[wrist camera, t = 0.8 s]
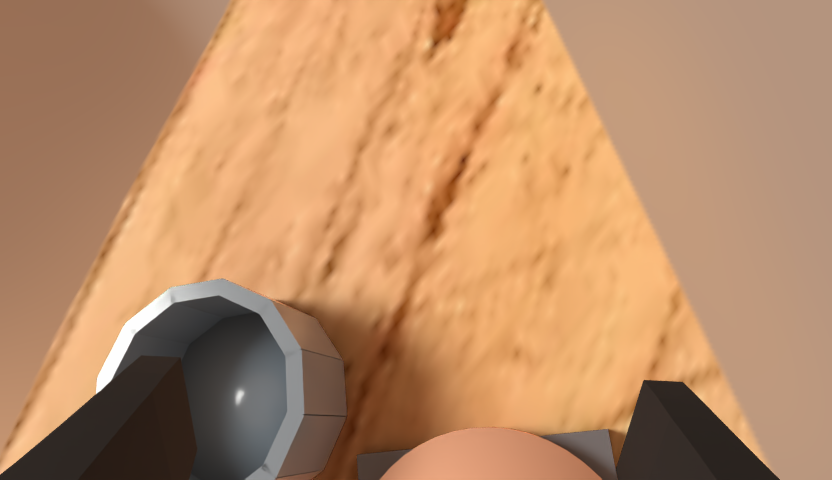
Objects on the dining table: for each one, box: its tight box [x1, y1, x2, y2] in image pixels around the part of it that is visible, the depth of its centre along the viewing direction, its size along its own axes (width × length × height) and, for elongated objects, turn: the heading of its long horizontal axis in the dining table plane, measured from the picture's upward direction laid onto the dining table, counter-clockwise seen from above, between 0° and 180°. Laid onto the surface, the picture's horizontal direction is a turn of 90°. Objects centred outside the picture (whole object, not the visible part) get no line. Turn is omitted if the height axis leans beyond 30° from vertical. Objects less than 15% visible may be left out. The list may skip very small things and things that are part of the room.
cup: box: [96, 279, 347, 480], centre depth 23 cm, size 8×8×4 cm
